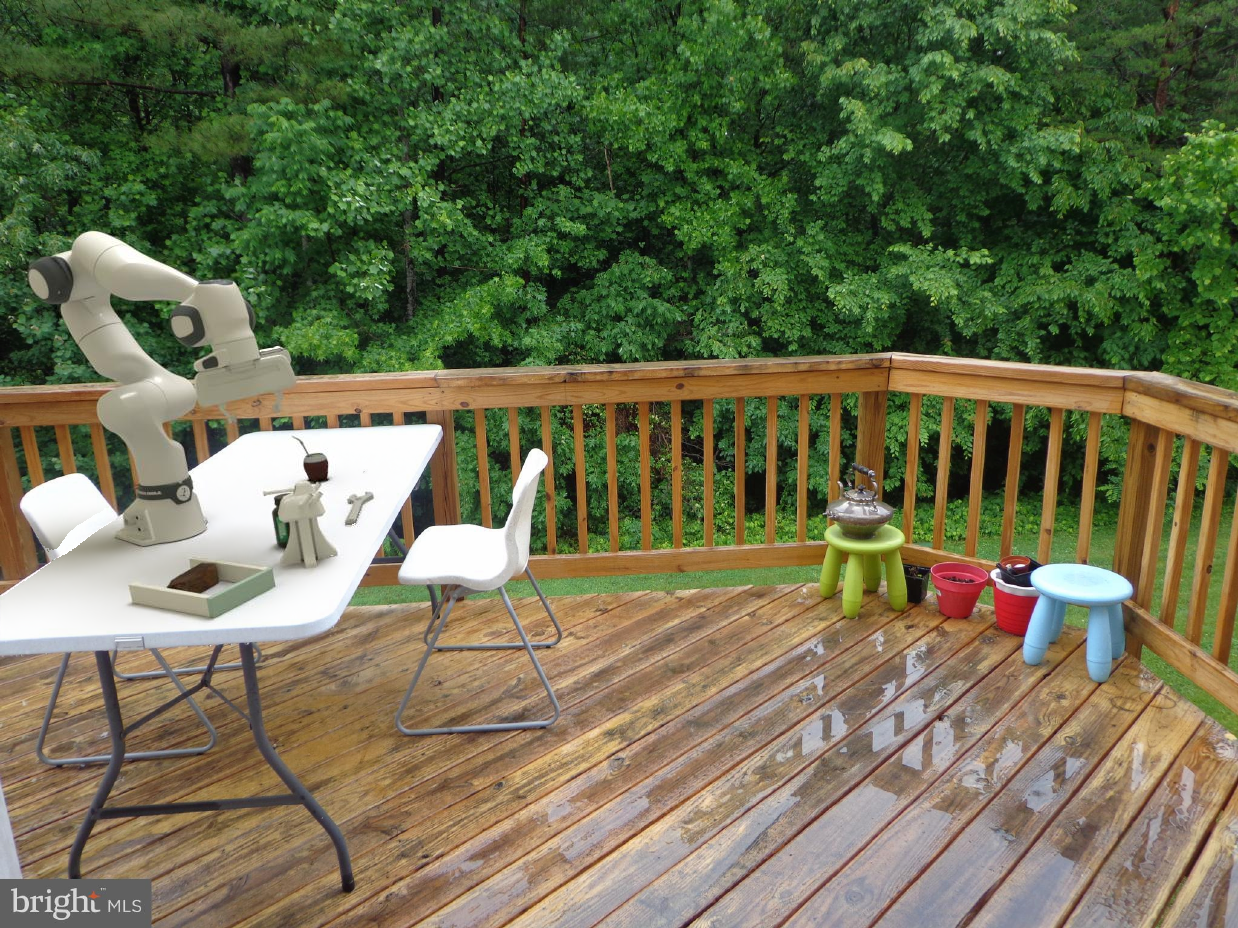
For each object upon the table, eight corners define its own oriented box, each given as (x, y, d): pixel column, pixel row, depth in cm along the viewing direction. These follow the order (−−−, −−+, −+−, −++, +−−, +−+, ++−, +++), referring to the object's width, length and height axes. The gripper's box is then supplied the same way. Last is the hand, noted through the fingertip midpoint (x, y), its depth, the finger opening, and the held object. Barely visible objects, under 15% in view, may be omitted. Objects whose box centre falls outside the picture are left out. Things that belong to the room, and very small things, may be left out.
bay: (132, 602, 177) (128, 584, 176) (196, 573, 191) (193, 556, 190) (214, 617, 168) (210, 598, 167) (275, 585, 182) (272, 568, 181)
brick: (204, 582, 186) (200, 562, 185) (220, 583, 185) (216, 562, 184) (168, 603, 177) (164, 582, 175) (184, 604, 176) (180, 583, 174)
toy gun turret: (274, 556, 199) (261, 481, 194) (334, 545, 204) (323, 472, 199) (277, 574, 188) (263, 495, 183) (340, 562, 193) (328, 485, 188)
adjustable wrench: (355, 527, 217) (354, 520, 217) (329, 529, 217) (328, 522, 216) (375, 496, 241) (374, 490, 241) (352, 498, 241) (351, 492, 240)
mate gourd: (334, 477, 262) (327, 429, 258) (323, 484, 254) (315, 435, 250) (310, 477, 262) (303, 429, 258) (299, 485, 255) (291, 436, 251)
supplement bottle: (286, 550, 202) (278, 502, 199) (272, 545, 206) (263, 497, 203) (313, 542, 207) (305, 494, 204) (298, 536, 211) (290, 489, 208)
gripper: (284, 344, 192) (301, 405, 195) (185, 365, 183) (205, 428, 186) (289, 344, 187) (307, 406, 190) (187, 365, 178) (208, 430, 181)
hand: (256, 417), depth 188 cm, fingers open, 8 cm apart
